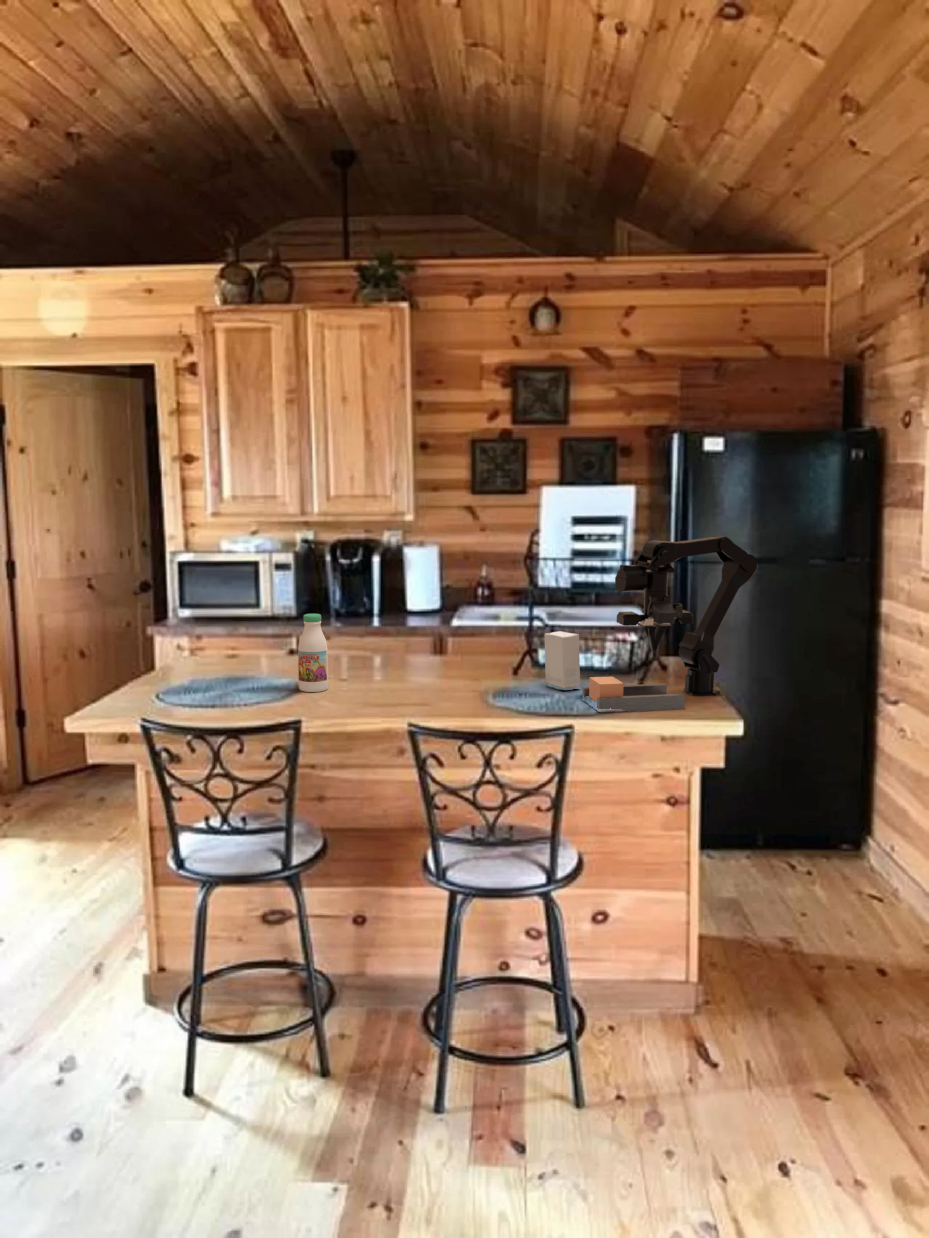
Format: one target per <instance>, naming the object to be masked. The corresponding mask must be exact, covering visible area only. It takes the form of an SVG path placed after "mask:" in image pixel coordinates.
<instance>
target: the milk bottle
mask: <svg viewBox="0 0 929 1238" xmlns="http://www.w3.org/2000/svg"><path fill="white" fill-rule="evenodd" d="M302 619H303V624H304V627H303V631H302V634H301V635H300V639H299V642H298V650H297V651H298V655H297V656H298V657H297V658H298V659H297V660H298V661H297V663H298V664H297V665H298V668H297V669H298V689H299V690H300V691H301V692H305V693H306V692H307V693H319V692H324V691H327V690H328V688H329V654H328V652H329V649H328V643H327V639H326V637H325V635H324V633H323V629H322V626H321V623H322V615H321V614H320V613H306V614H303V618H302Z"/></svg>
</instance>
